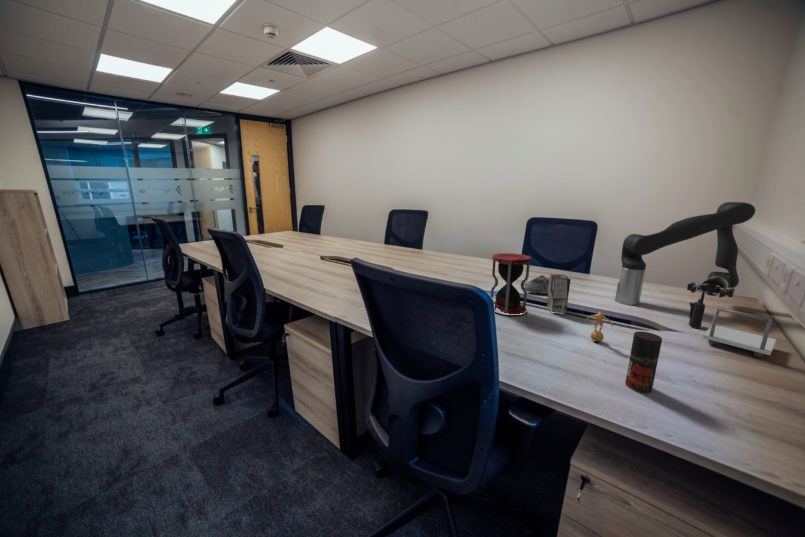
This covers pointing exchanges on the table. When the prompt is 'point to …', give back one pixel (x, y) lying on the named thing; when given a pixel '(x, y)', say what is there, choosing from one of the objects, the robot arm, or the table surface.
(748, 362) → the table surface
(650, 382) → the deodorant
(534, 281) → the mineral rock
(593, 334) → the figurine
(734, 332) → the dolly
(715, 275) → the robot arm
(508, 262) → the hourglass
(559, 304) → the coffee box
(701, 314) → the two-way radio
